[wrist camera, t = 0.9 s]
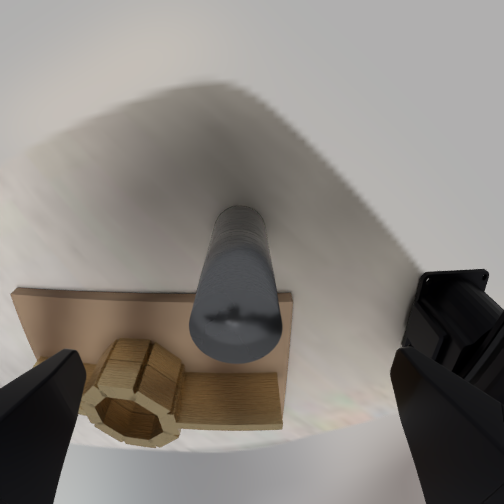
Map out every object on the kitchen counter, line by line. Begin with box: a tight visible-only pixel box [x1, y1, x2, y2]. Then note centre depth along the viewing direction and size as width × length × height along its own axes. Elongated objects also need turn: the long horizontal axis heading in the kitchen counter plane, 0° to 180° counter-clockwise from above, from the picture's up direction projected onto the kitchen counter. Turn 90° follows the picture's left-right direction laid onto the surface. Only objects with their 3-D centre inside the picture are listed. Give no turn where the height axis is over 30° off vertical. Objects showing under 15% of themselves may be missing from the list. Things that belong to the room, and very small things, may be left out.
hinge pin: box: [189, 206, 283, 364], centre depth 13 cm, size 3×3×9 cm
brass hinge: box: [33, 338, 283, 448], centre depth 18 cm, size 19×6×4 cm, turn 90°
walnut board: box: [11, 288, 293, 418], centre depth 21 cm, size 20×12×1 cm, turn 90°
